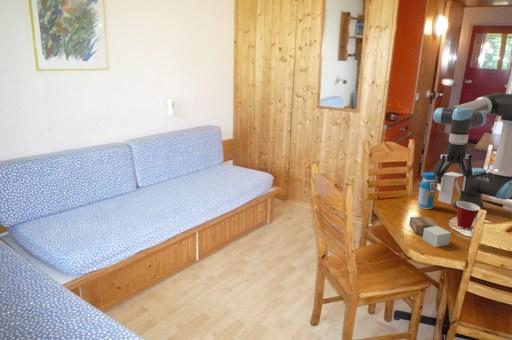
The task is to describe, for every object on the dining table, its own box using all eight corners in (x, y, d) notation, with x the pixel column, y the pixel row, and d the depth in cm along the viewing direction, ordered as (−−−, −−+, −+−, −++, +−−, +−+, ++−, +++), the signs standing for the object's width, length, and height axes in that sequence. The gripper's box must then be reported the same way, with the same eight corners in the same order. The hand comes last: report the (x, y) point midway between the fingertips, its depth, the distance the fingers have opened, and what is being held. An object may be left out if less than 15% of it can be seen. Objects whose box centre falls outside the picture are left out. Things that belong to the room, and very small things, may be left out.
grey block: (435, 237, 182) (437, 225, 181) (449, 244, 175) (451, 232, 174) (422, 240, 179) (424, 228, 178) (436, 247, 172) (437, 235, 171)
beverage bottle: (416, 208, 218) (421, 174, 213) (417, 203, 226) (421, 170, 220) (433, 210, 215) (438, 176, 209) (432, 205, 222) (437, 172, 217)
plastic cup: (476, 233, 186) (480, 210, 183) (451, 228, 192) (455, 205, 189) (477, 225, 195) (481, 203, 192) (453, 221, 201) (457, 199, 198)
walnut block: (429, 226, 194) (430, 217, 193) (436, 235, 185) (438, 225, 183) (409, 225, 195) (410, 216, 194) (415, 234, 185) (416, 225, 184)
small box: (450, 204, 175) (454, 177, 172) (437, 200, 180) (441, 174, 177) (460, 201, 180) (464, 174, 176) (447, 197, 185) (450, 171, 181)
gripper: (438, 144, 168) (431, 192, 174) (487, 144, 170) (478, 192, 176) (429, 141, 175) (423, 187, 181) (476, 141, 177) (468, 187, 183)
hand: (450, 189), depth 179 cm, fingers closed on small box, 10 cm apart
